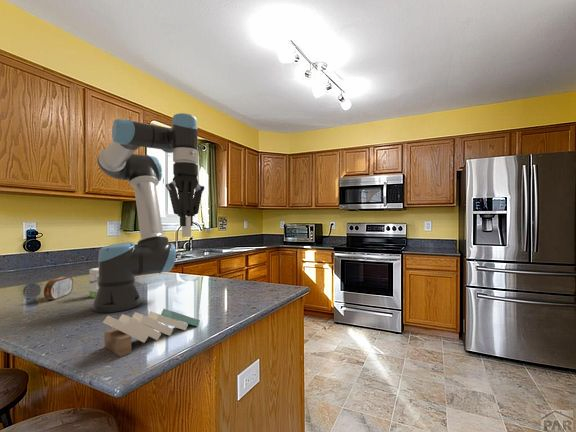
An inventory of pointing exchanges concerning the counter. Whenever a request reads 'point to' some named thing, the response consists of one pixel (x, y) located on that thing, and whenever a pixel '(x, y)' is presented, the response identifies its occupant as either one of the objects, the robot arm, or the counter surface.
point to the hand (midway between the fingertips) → (186, 236)
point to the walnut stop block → (118, 342)
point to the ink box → (94, 281)
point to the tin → (58, 287)
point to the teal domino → (180, 317)
